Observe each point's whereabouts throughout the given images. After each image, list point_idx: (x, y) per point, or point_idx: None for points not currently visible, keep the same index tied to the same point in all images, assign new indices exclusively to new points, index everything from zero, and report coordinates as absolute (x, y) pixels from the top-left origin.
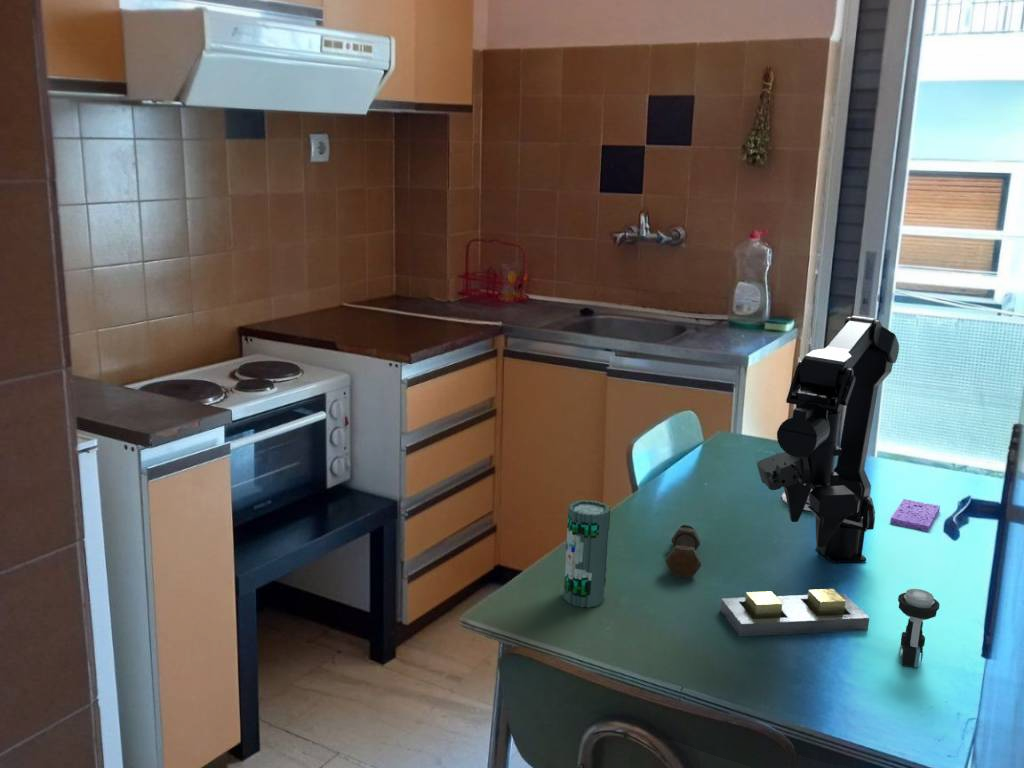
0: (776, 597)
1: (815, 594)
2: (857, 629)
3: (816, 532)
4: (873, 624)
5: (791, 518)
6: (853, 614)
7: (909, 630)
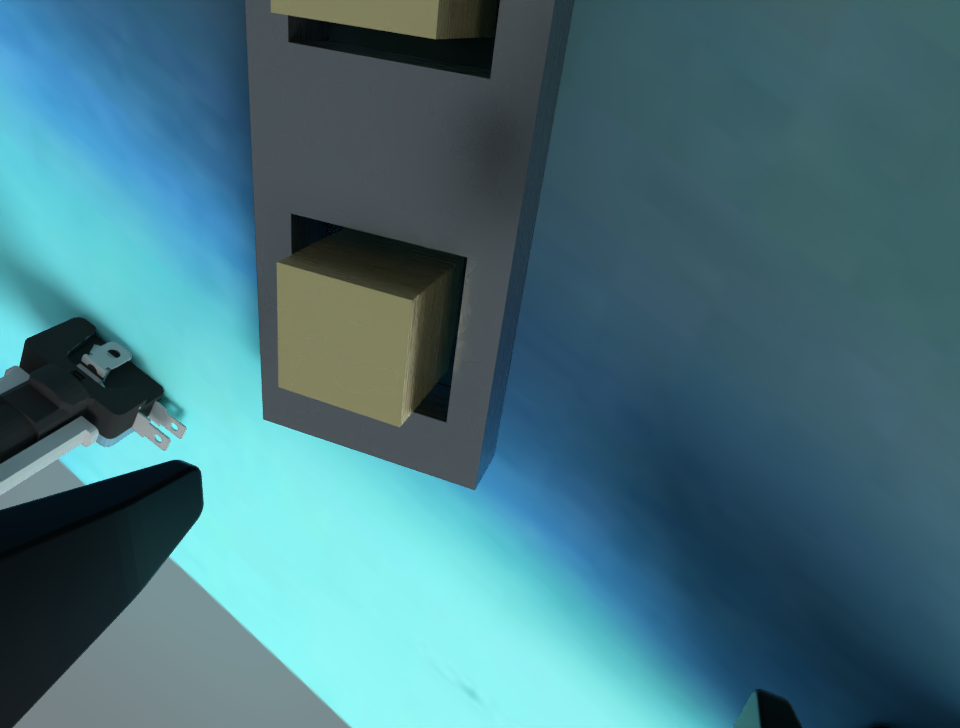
0: (348, 22)
1: (357, 298)
2: None
3: (41, 525)
4: (333, 443)
5: (760, 718)
6: None
7: (3, 403)
